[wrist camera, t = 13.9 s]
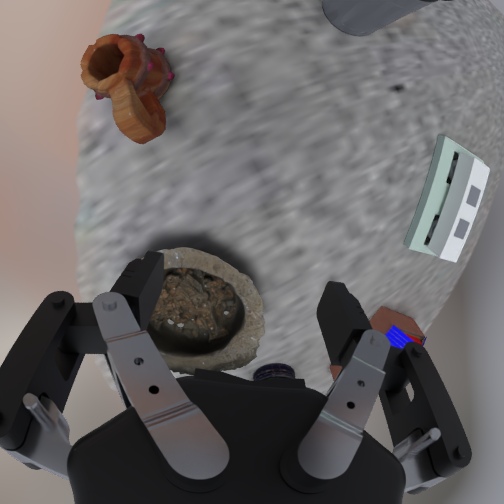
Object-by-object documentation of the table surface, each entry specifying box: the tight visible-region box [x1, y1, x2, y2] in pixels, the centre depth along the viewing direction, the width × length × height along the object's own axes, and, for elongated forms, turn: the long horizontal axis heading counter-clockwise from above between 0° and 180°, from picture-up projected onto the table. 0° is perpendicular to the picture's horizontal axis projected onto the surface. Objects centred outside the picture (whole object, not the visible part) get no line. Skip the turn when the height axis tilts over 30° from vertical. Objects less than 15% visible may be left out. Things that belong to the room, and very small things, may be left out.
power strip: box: [427, 153, 490, 262], centre depth 36 cm, size 18×5×7 cm, turn 168°
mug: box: [81, 34, 174, 144], centre depth 25 cm, size 15×8×15 cm, turn 20°
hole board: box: [404, 135, 484, 256], centre depth 39 cm, size 21×12×2 cm, turn 168°
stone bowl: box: [142, 247, 265, 375], centre depth 44 cm, size 25×25×9 cm
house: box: [330, 306, 426, 380], centre depth 50 cm, size 12×20×12 cm, turn 155°
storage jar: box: [253, 363, 295, 381], centre depth 52 cm, size 10×10×15 cm
